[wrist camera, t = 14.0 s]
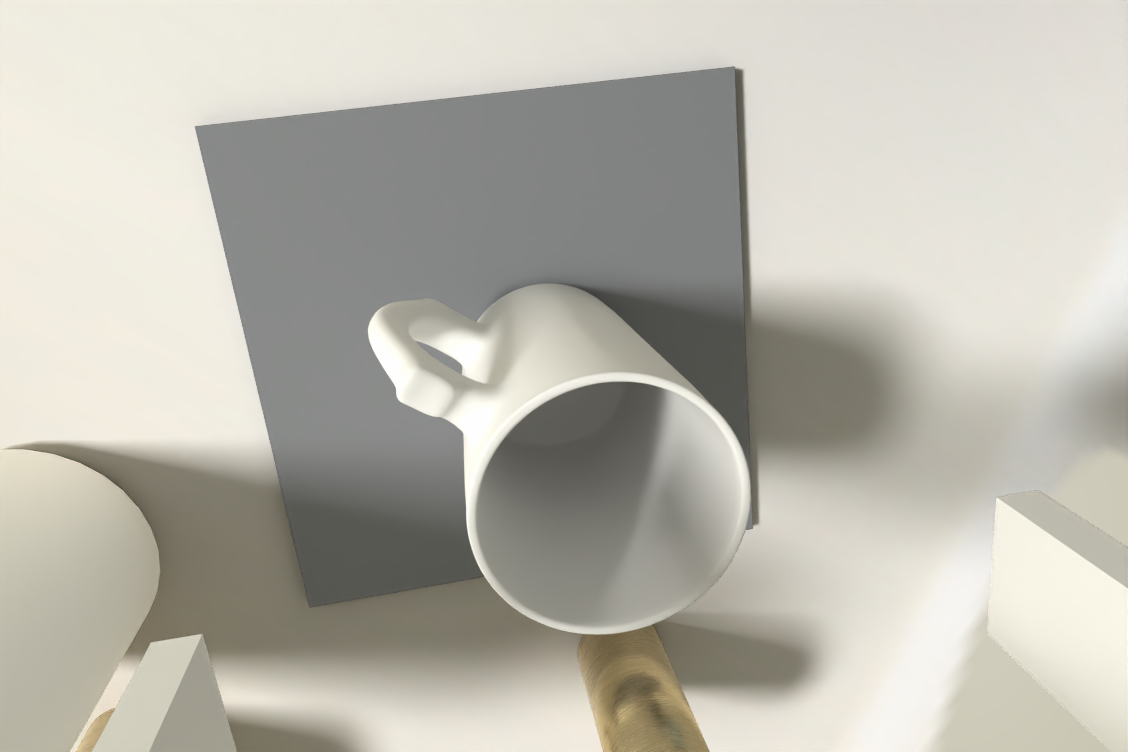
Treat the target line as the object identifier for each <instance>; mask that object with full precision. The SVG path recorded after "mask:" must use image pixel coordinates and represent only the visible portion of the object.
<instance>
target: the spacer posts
mask: <svg viewBox="0 0 1128 752" xmlns="http://www.w3.org/2000/svg"><path fill="white" fill-rule="evenodd" d="M578 661H579V665H580V669H581V672H582V676H583V680H584V683H585V687H586V691H587V694H588V698H589V702H590V705H591V709H592V713H593V716H594V720H595V724H596V727H597V731H598V735H599V738H600V742H601V745H602V749H603V752H709V749H708V747H707V745H706V743H705V740H704V738H703V736H702V734H701V731H700V729H699V727H698V724H697V722H696V720H695V718H694V715H693V713H692V711H691V709H690V706H689V704H688V702H687V699H686V697H685V695H684V693H683V690H682V688H681V686H680V684H679V681H678V679H677V677H676V675H675V672H674V670H673V668H672V665H671V663H670V661H669V659H668V656H667V654H666V652H665V650H664V647H663V645H662V643H661V641H660V638H659V636H658V634H657V632H656V630H655V628H654V627H653V626H652V625H649V626H646V627H643V628H640V629H636V630H632V631H627V632H622V633H614V634H584V635H583V637H582V639H581V641H580V643H579V647H578ZM114 710H115V708H114V709H111V710H109V711H107V712H105V713H103V714H102V715H100V716H99V717H98V718H97V719H96V720H95V721H94V722H93V723H92V724H91V726H90V727H89V729H88V731H87V733H86V735H85V736H84V738H83V740H82V742H81V744H80V745H79V747H78V749H77V751H76V752H92V751H93V749H94V747H95V745H96V743H97V741H98V739H99V738H100V736H101V734H102V732H103V730H104V728H105V727H106V725H107V723H108V721H109V719H110V717H111V715H112V714H113V712H114Z"/></svg>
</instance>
